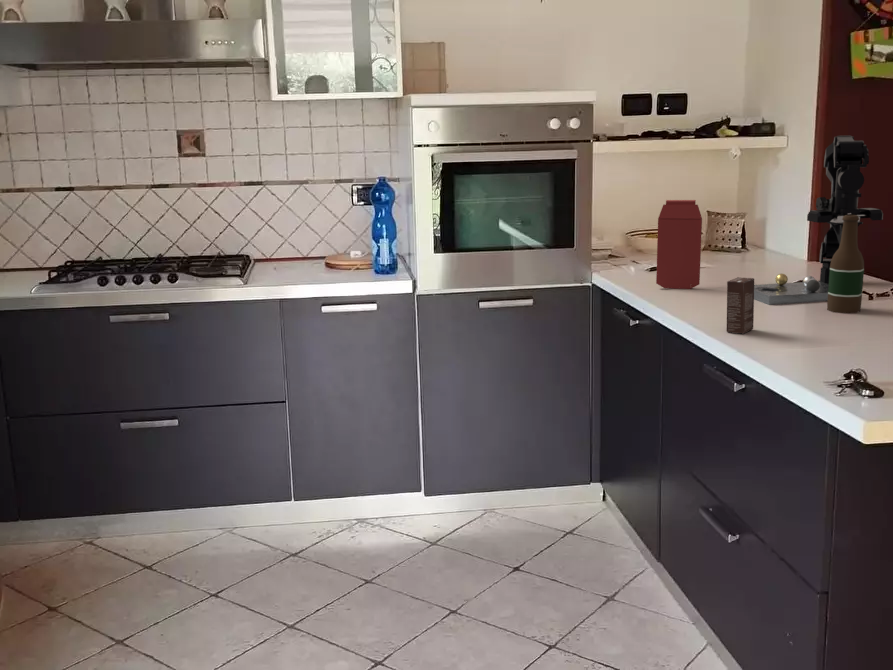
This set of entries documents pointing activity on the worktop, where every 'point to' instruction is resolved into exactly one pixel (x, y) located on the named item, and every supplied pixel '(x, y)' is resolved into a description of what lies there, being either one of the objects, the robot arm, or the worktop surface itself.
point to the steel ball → (807, 280)
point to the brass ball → (781, 279)
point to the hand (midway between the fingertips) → (842, 247)
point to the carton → (679, 245)
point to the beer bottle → (846, 271)
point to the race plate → (789, 293)
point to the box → (740, 305)
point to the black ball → (813, 285)
